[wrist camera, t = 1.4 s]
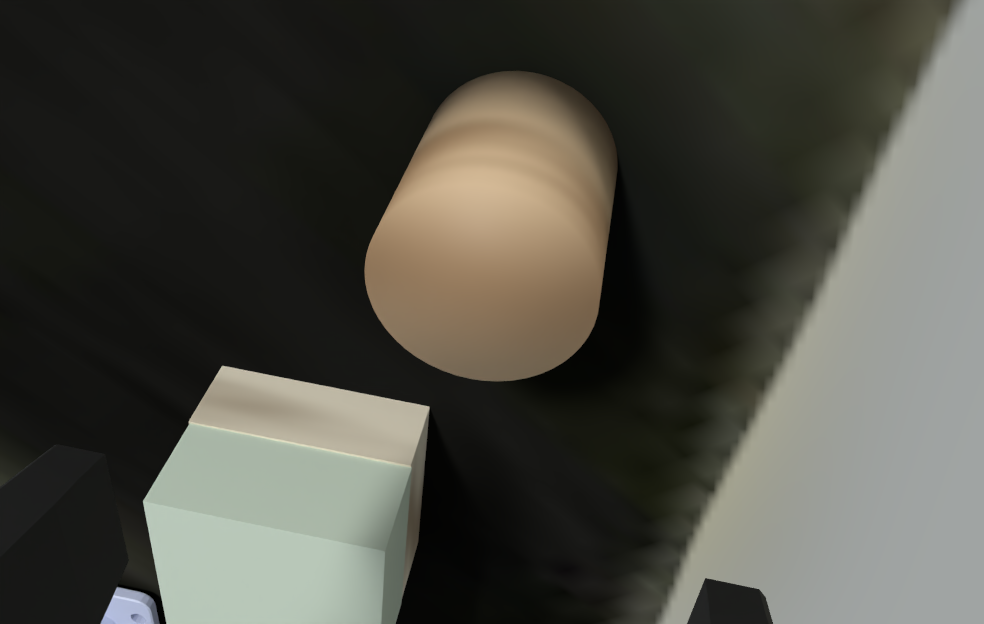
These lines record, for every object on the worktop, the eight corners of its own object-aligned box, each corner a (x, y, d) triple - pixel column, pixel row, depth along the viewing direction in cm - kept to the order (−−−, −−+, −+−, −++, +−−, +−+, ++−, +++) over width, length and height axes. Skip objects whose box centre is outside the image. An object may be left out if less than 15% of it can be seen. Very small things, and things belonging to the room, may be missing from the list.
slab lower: (421, 530, 28) (401, 601, 26) (241, 493, 28) (208, 561, 26) (433, 395, 24) (410, 465, 22) (228, 355, 25) (188, 421, 23)
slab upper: (401, 602, 26) (377, 686, 24) (208, 562, 26) (169, 640, 24) (412, 467, 22) (385, 551, 20) (189, 423, 23) (143, 501, 21)
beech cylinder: (598, 260, 20) (578, 400, 17) (419, 227, 21) (362, 358, 17) (635, 89, 18) (620, 211, 14) (430, 54, 18) (366, 166, 15)
